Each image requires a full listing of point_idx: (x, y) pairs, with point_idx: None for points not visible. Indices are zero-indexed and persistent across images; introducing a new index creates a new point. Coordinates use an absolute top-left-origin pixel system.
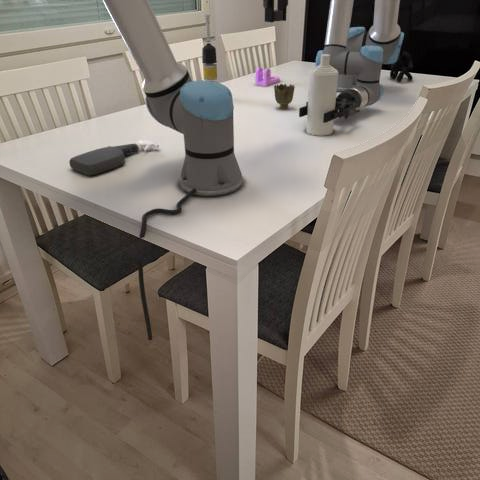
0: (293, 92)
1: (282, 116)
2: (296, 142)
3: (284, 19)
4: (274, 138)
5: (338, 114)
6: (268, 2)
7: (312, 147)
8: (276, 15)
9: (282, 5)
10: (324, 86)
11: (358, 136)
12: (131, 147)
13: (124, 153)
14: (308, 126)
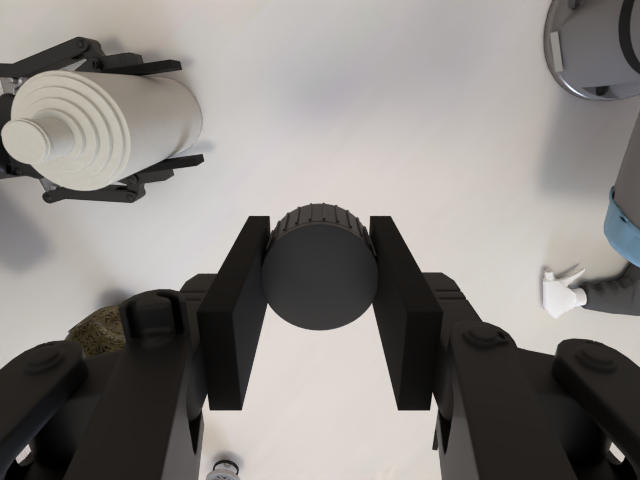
0: (85, 318)
1: (169, 269)
2: (275, 94)
3: (264, 219)
4: (298, 157)
5: (118, 54)
6: (442, 292)
7: (268, 34)
8: (353, 224)
9: (255, 280)
10: (124, 88)
11: (99, 4)
12: (603, 289)
13: (621, 280)
14: (196, 129)
